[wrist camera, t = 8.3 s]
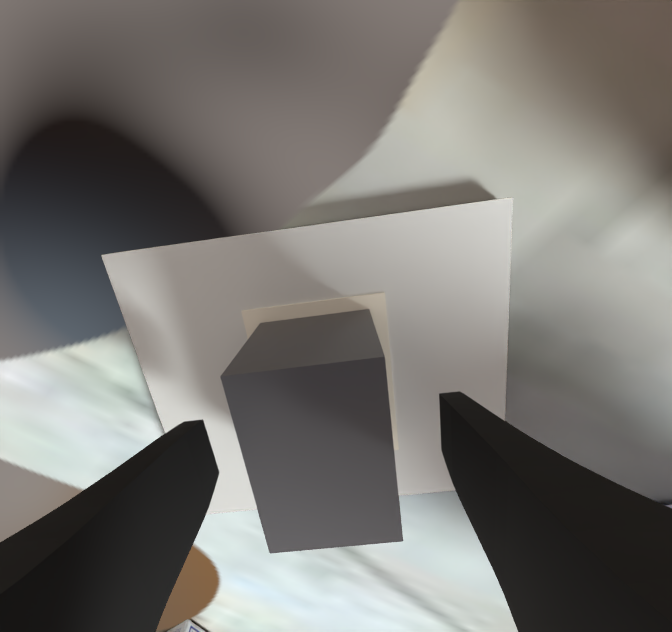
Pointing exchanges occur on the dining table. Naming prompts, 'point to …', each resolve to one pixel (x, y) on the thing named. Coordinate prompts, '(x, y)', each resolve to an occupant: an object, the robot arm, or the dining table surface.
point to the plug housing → (317, 431)
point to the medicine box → (186, 627)
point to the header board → (327, 298)
